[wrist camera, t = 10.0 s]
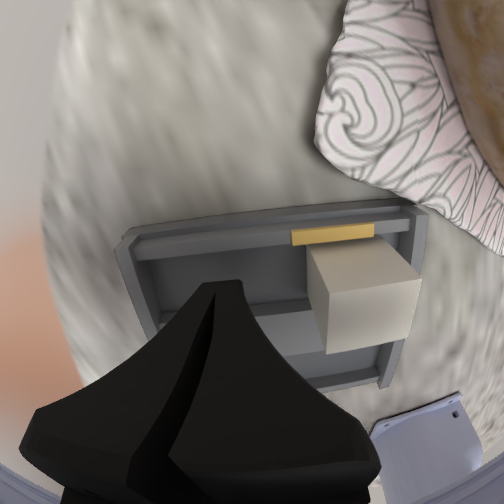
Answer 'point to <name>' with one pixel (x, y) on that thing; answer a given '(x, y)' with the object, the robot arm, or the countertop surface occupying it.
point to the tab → (360, 292)
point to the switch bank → (270, 275)
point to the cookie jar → (421, 106)
